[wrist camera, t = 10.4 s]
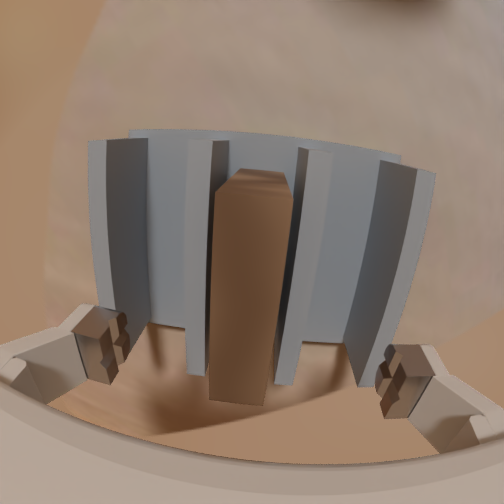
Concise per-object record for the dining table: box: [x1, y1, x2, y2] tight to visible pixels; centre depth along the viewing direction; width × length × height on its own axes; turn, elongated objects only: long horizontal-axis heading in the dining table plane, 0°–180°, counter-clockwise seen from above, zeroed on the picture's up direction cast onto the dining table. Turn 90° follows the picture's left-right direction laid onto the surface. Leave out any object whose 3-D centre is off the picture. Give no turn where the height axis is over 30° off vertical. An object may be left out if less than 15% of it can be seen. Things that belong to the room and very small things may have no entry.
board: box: [209, 168, 293, 406], centre depth 15 cm, size 2×9×8 cm, turn 175°
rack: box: [88, 129, 436, 387], centre depth 17 cm, size 16×13×6 cm
